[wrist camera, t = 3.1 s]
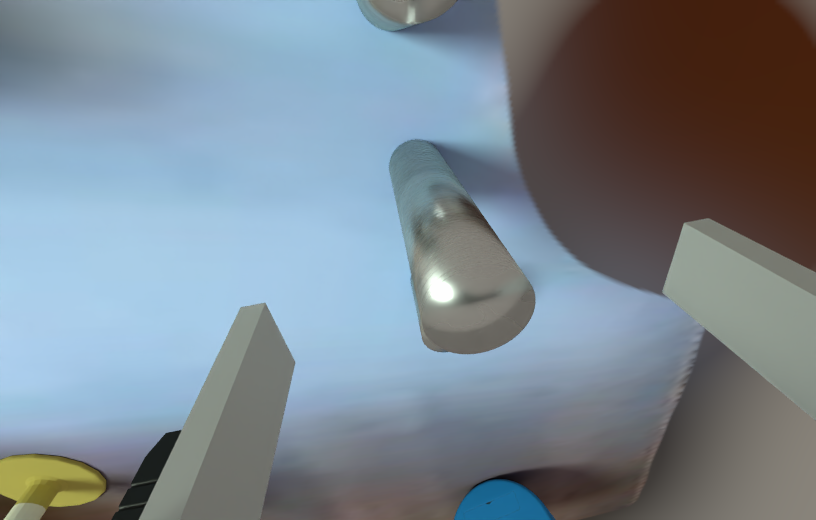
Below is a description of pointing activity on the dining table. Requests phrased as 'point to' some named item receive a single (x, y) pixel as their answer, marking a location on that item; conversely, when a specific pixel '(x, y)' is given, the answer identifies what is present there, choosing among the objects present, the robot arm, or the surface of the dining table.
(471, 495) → the alarm clock
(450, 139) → the dining table surface
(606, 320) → the dining table surface
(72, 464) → the candlestick
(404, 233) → the long pin
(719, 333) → the robot arm
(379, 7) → the medium pin
